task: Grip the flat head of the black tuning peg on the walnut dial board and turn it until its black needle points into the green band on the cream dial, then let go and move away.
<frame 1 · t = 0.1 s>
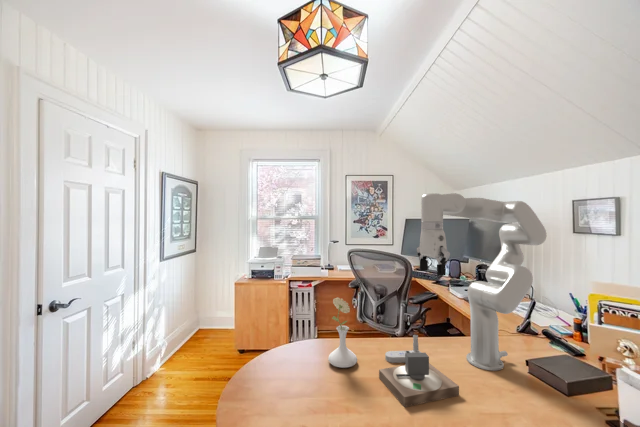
hand: (432, 272, 104), 37 cm above the table, tool pointing down, fingers open, 9 cm apart
dial board: (417, 386, 95), on the table
tuning peg: (411, 365, 95), point 7 cm above the table, hinge at -15.0°
flower in vase: (341, 362, 111), on the table
electronic device: (404, 360, 113), on the table
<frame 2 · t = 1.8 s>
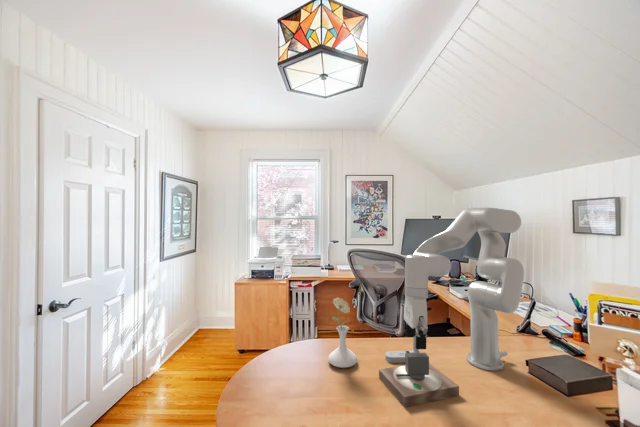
hand: (415, 342, 95), 15 cm above the table, tool pointing down, fingers open, 9 cm apart
nothing on the table moved.
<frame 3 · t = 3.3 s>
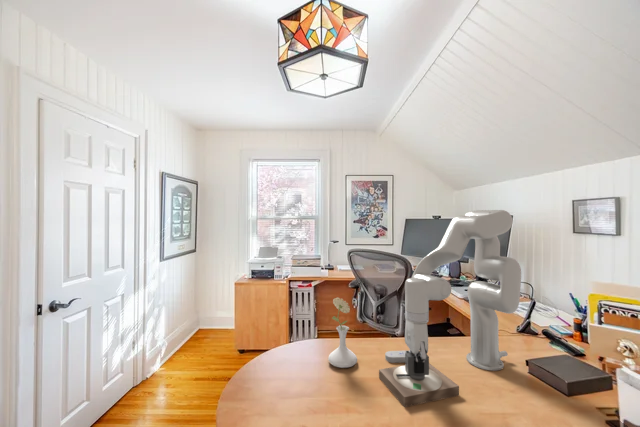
hand: (416, 369, 95), 6 cm above the table, tool pointing down, fingers closed on tuning peg, 3 cm apart
tuning peg: (411, 365, 95), point 7 cm above the table, hinge at -15.0°, touching gripper
everything else where it was.
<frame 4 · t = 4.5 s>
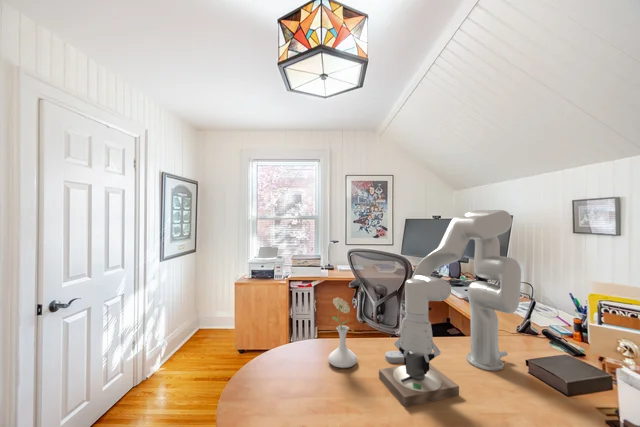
hand: (416, 369, 95), 6 cm above the table, tool pointing down, fingers closed on tuning peg, 5 cm apart
tuning peg: (413, 366, 94), point 7 cm above the table, hinge at 13.1°, touching gripper
everything else where it was.
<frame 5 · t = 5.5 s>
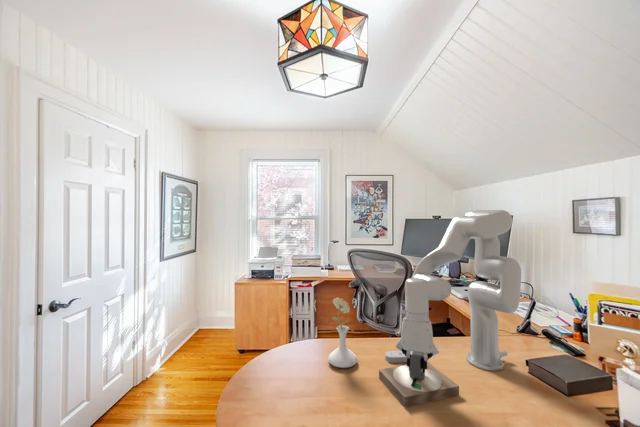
hand: (416, 369, 95), 6 cm above the table, tool pointing down, fingers closed on tuning peg, 3 cm apart
tuning peg: (415, 367, 94), point 7 cm above the table, hinge at 43.6°, touching gripper
everything else where it was.
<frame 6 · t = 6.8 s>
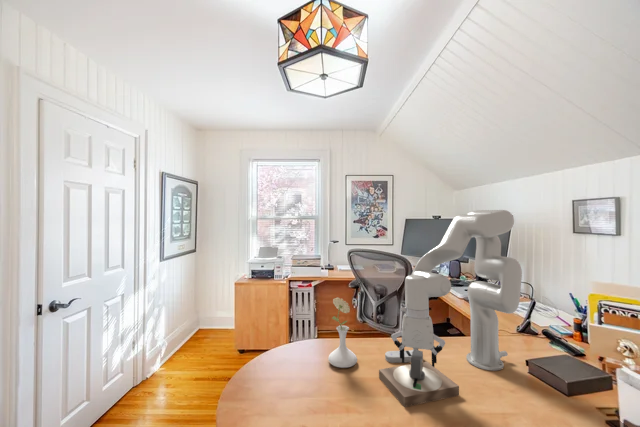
hand: (417, 362, 95), 8 cm above the table, tool pointing down, fingers open, 9 cm apart
tuning peg: (416, 367, 94), point 7 cm above the table, hinge at 48.1°
everything else where it was.
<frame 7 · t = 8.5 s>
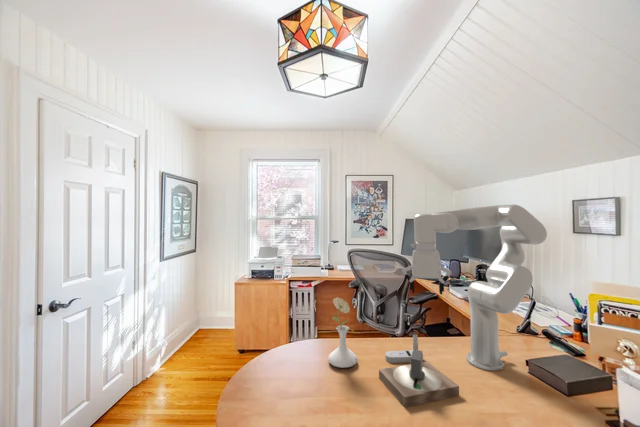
hand: (426, 292, 105), 29 cm above the table, tool pointing down, fingers open, 9 cm apart
tuning peg: (416, 368, 94), point 7 cm above the table, hinge at 49.1°
everything else where it was.
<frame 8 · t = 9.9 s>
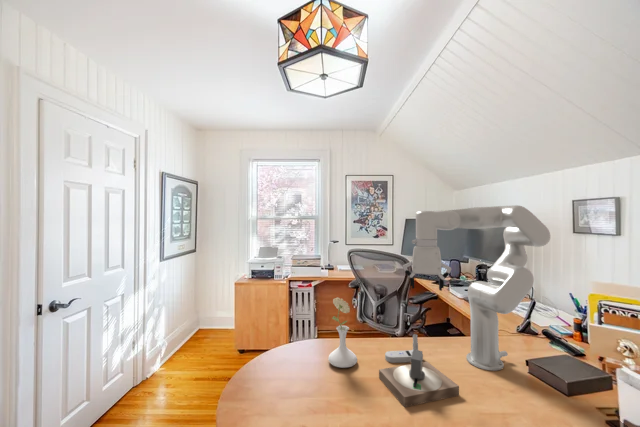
hand: (426, 288, 106), 30 cm above the table, tool pointing down, fingers open, 9 cm apart
nothing on the table moved.
at the end: tuning peg at +49° (first picture: -15°); the gripper is holding nothing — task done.
